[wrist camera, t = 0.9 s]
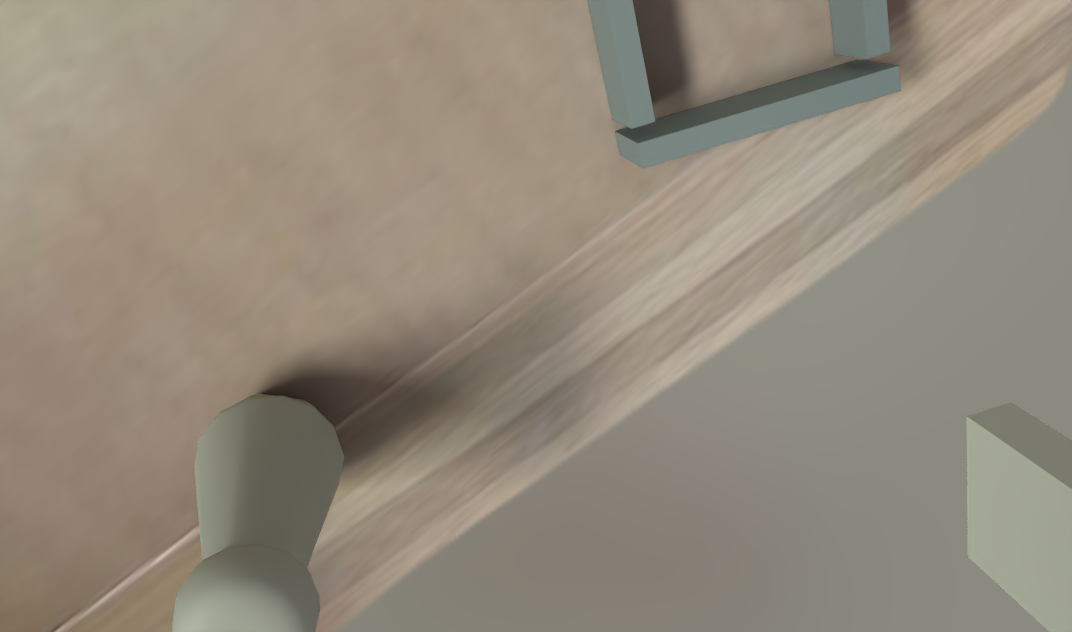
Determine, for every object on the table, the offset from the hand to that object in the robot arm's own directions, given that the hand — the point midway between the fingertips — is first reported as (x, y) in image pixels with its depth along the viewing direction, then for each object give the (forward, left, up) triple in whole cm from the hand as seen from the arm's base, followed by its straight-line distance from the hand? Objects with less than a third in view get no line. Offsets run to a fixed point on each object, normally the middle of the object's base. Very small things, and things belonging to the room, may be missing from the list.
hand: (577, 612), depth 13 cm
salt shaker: (+7, -9, -25) cm, 27 cm away
